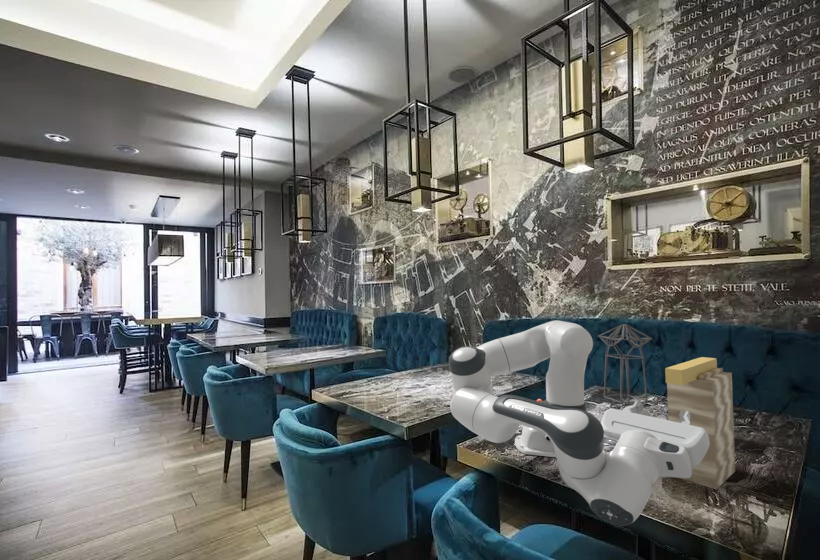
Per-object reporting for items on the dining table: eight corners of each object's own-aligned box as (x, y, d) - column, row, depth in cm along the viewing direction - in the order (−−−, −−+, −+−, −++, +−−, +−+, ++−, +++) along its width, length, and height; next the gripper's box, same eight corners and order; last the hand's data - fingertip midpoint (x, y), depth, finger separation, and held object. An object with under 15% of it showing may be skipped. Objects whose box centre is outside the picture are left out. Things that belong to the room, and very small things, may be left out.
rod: (682, 385, 95) (681, 370, 95) (665, 382, 98) (665, 368, 98) (717, 371, 111) (716, 358, 111) (702, 369, 114) (701, 357, 114)
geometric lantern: (596, 407, 169) (594, 323, 171) (625, 404, 174) (624, 322, 176) (626, 417, 154) (624, 325, 156) (658, 414, 159) (655, 324, 161)
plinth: (716, 489, 98) (712, 377, 99) (669, 475, 106) (666, 371, 107) (735, 471, 108) (731, 369, 109) (691, 459, 116) (688, 364, 117)
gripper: (595, 449, 93) (618, 409, 101) (700, 481, 77) (718, 430, 85) (587, 428, 91) (612, 389, 99) (693, 456, 75) (712, 407, 83)
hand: (662, 408), depth 92 cm, fingers open, 8 cm apart
